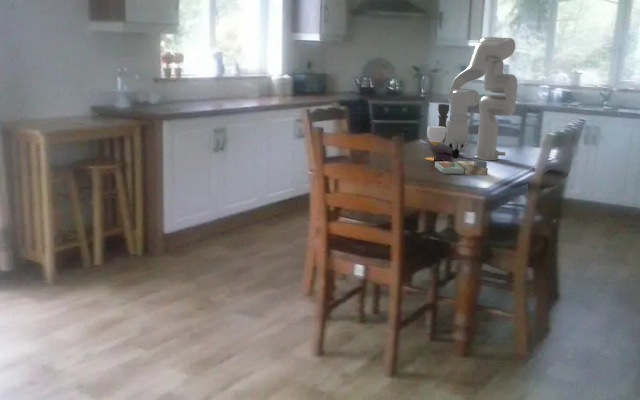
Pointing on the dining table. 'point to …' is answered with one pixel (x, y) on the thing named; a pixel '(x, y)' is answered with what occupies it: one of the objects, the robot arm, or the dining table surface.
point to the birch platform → (472, 168)
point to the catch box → (452, 170)
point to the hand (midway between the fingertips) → (454, 158)
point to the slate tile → (480, 163)
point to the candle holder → (443, 115)
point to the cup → (435, 136)
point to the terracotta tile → (445, 164)
